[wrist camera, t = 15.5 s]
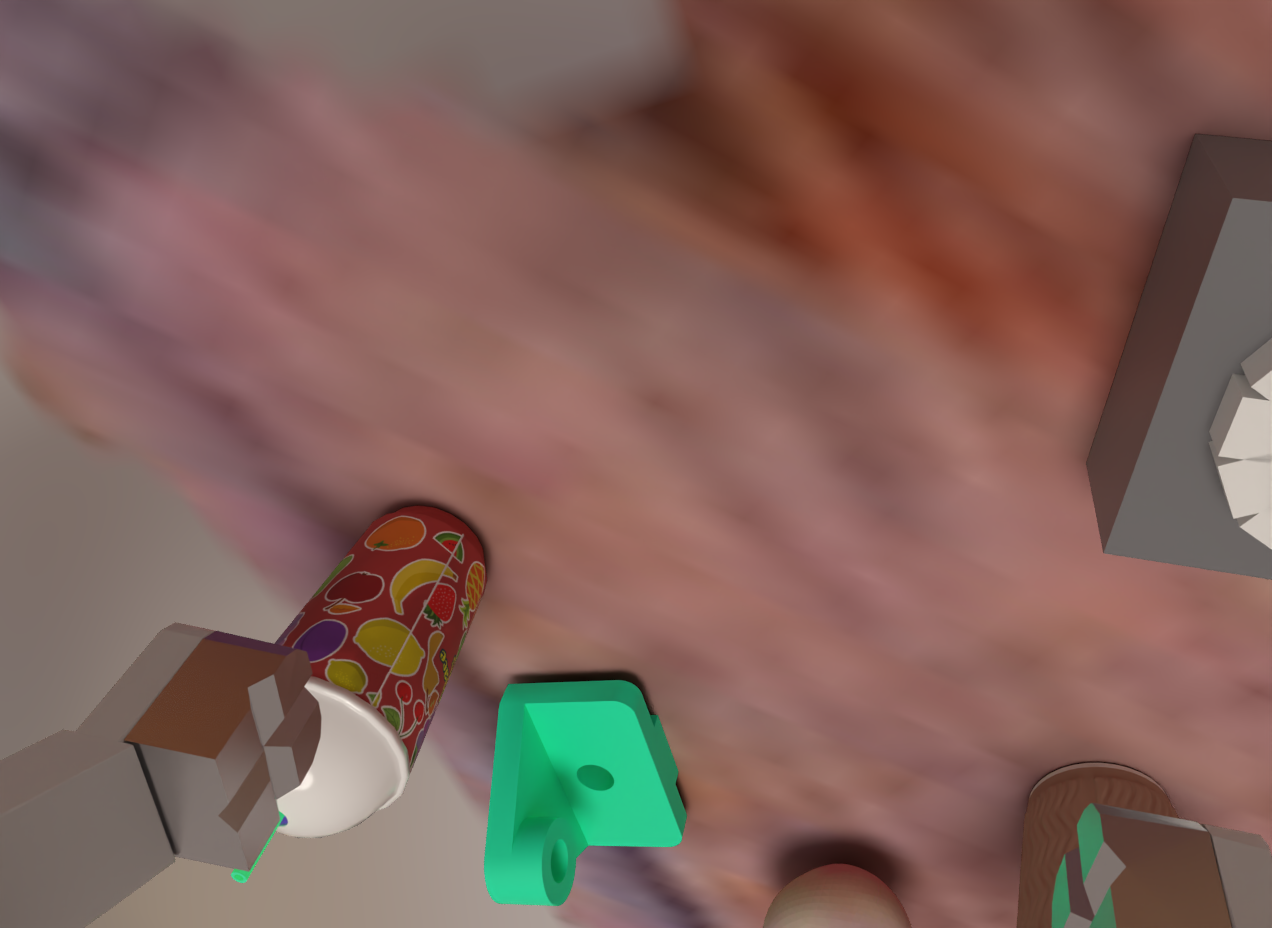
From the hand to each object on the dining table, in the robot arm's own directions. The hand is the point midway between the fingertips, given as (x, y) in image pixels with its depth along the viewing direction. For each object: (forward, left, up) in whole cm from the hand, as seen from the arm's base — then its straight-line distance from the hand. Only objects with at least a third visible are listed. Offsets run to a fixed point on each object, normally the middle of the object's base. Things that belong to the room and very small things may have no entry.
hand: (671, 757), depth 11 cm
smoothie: (+28, -18, -33) cm, 47 cm away
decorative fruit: (+48, +6, -33) cm, 59 cm away
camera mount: (+41, -9, -34) cm, 54 cm away
